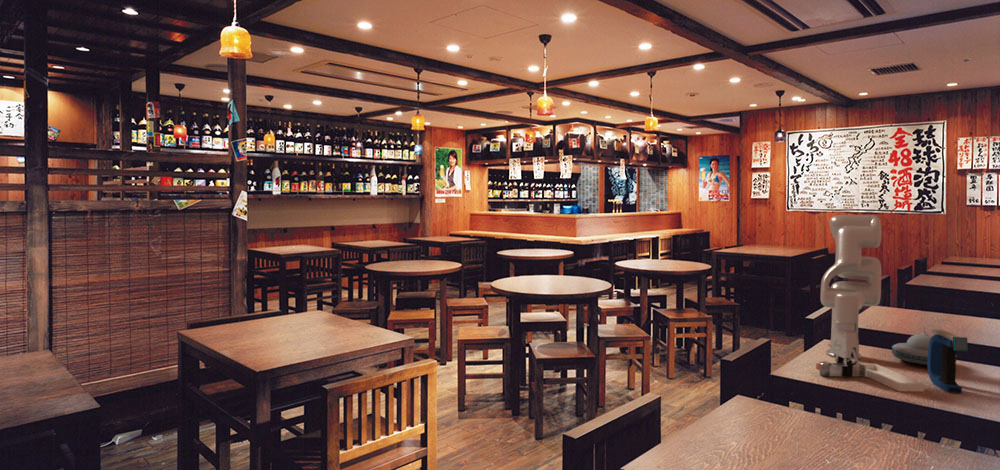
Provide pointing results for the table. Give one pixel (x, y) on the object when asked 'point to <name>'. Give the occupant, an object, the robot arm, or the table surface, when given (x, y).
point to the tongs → (839, 369)
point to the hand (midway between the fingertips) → (843, 374)
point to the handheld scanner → (944, 359)
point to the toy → (914, 349)
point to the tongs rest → (892, 378)
